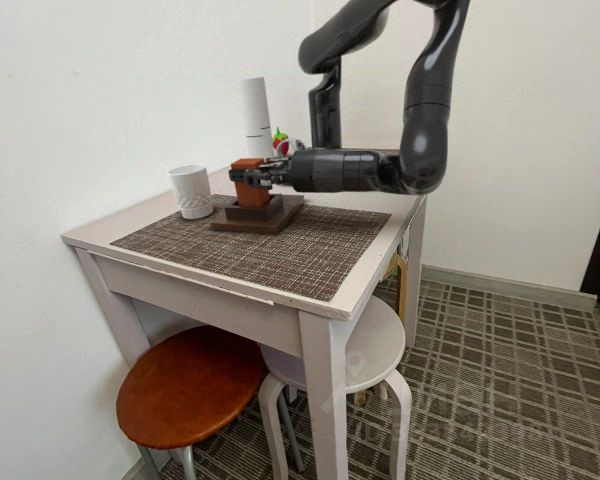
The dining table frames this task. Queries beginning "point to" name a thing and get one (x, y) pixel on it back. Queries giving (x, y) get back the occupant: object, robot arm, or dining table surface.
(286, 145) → the strawberry
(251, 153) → the cylindrical container
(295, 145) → the watch
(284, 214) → the brown square tray
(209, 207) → the white cup
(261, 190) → the brown rectangular block
